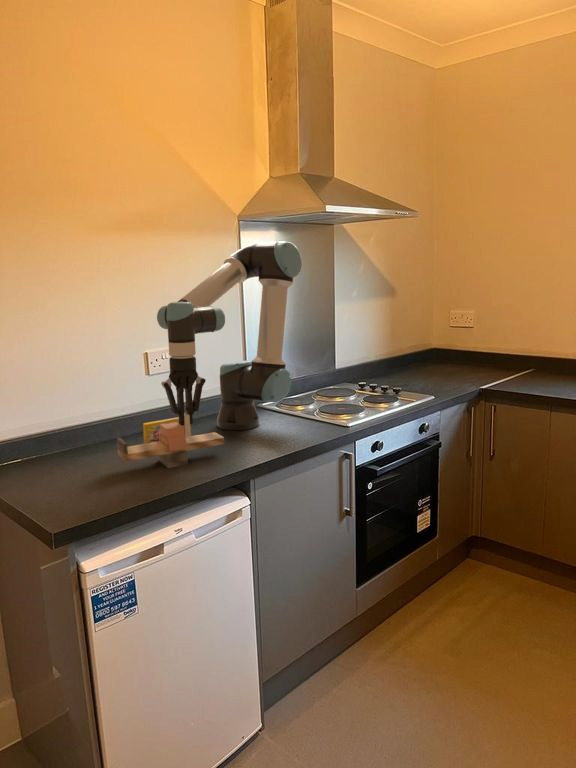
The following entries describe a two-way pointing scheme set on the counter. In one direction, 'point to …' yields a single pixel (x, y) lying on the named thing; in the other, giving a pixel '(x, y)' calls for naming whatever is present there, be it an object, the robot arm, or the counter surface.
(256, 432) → the counter surface
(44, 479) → the counter surface
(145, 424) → the candy box
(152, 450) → the beam
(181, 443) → the block
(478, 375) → the counter surface
